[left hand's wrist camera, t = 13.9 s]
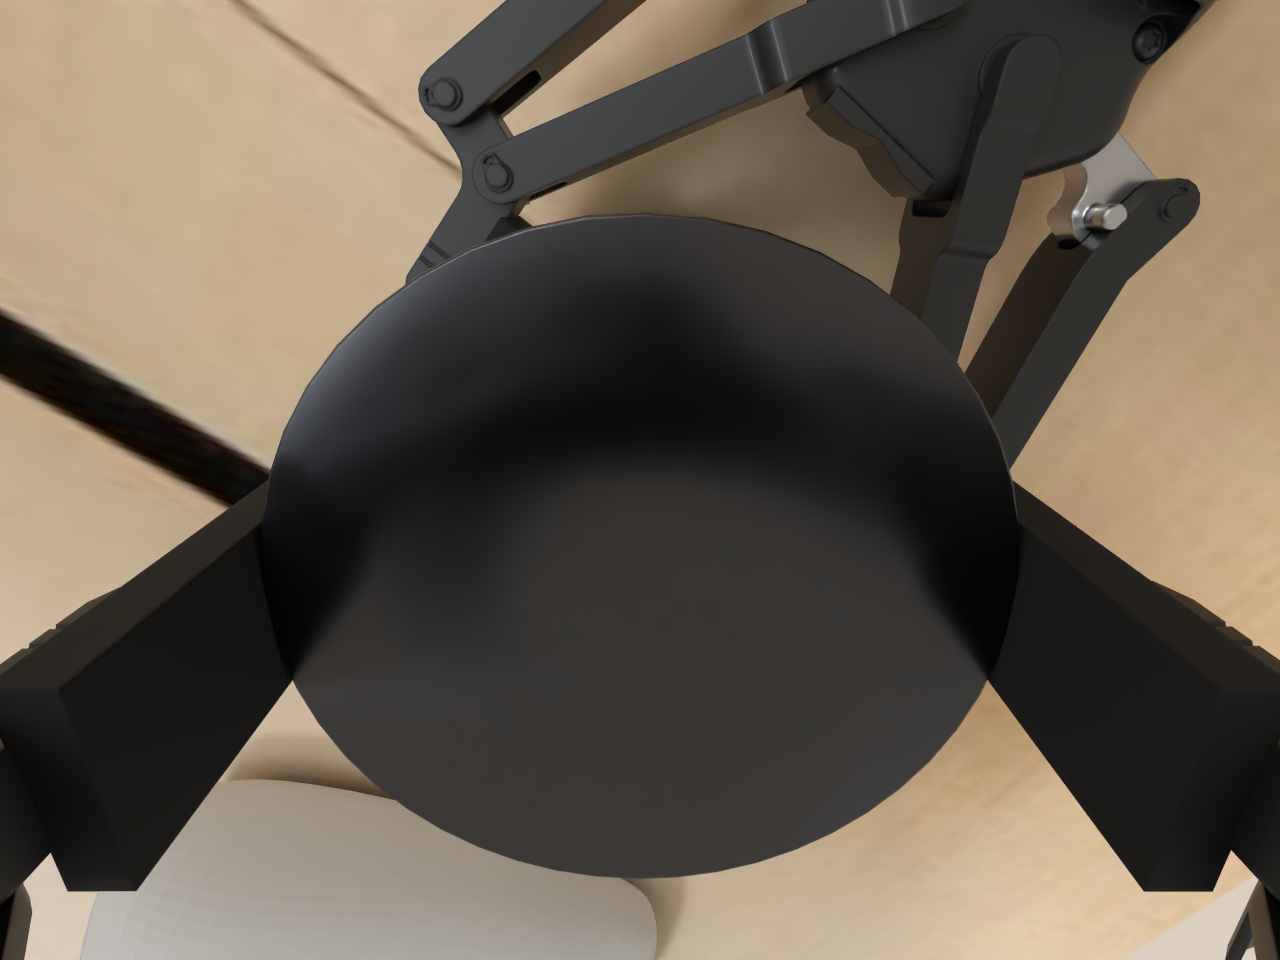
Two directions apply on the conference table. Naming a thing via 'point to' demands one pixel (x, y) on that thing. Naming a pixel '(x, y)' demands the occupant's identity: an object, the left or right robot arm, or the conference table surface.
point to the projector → (354, 890)
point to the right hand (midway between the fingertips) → (552, 533)
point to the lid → (640, 545)
